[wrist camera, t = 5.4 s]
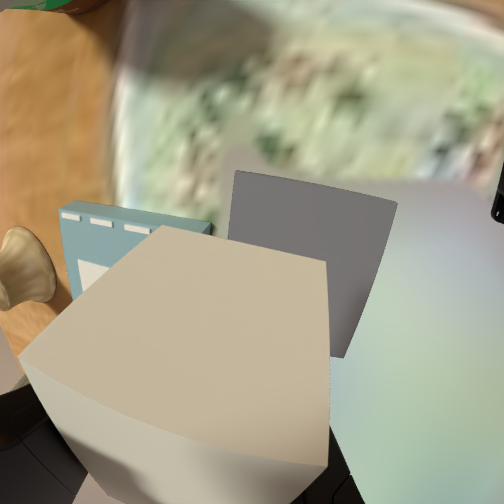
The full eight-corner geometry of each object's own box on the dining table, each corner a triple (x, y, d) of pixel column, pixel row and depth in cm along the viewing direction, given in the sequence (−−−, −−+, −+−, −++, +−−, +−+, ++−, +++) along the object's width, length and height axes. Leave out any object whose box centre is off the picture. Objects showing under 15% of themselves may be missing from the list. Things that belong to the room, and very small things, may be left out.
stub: (326, 261, 8) (328, 466, 3) (272, 415, 11) (245, 540, 6) (161, 224, 8) (16, 356, 3) (163, 385, 11) (107, 495, 6)
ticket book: (210, 222, 19) (199, 235, 17) (203, 342, 23) (195, 360, 21) (75, 200, 20) (57, 209, 18) (89, 307, 24) (77, 321, 23)
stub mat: (395, 201, 16) (397, 203, 16) (343, 354, 22) (343, 358, 21) (236, 170, 17) (234, 171, 17) (220, 331, 23) (218, 334, 22)
